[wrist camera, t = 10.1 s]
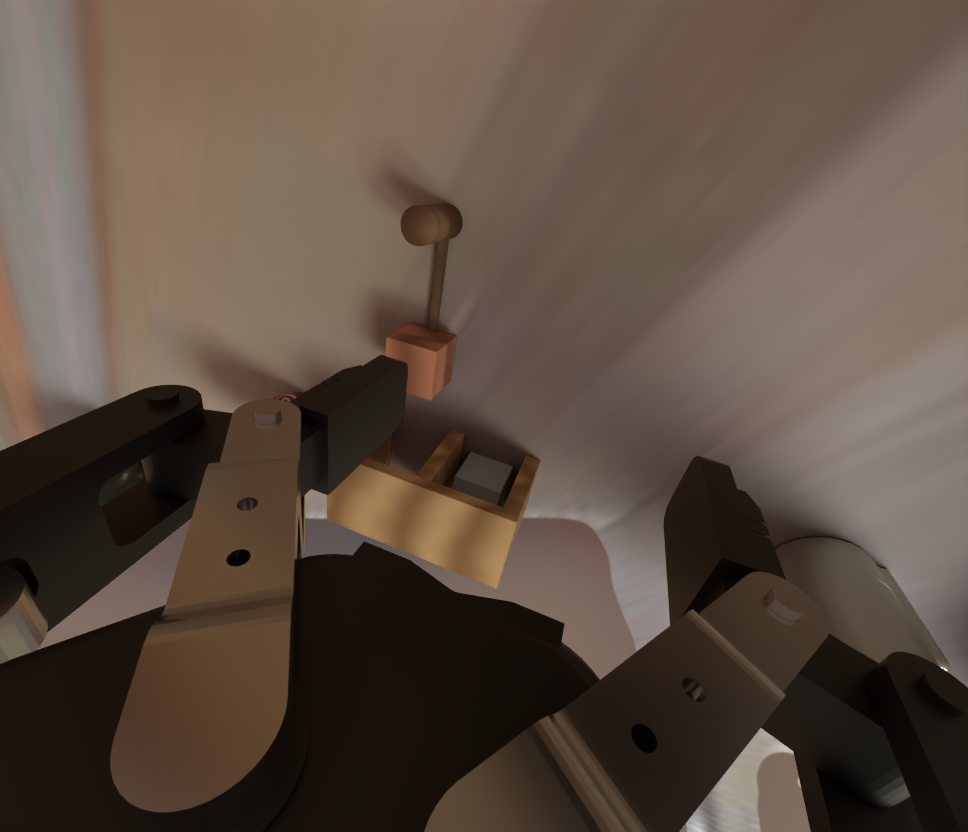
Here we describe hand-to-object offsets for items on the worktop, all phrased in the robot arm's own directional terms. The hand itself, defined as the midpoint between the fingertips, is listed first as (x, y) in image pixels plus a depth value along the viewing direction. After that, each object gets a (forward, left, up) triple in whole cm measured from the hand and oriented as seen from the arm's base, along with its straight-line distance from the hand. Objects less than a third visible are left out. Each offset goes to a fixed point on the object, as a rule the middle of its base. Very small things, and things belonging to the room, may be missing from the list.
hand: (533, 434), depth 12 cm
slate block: (+6, +24, -28) cm, 38 cm away
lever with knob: (+14, +6, -28) cm, 32 cm away
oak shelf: (+10, +24, -28) cm, 39 cm away
